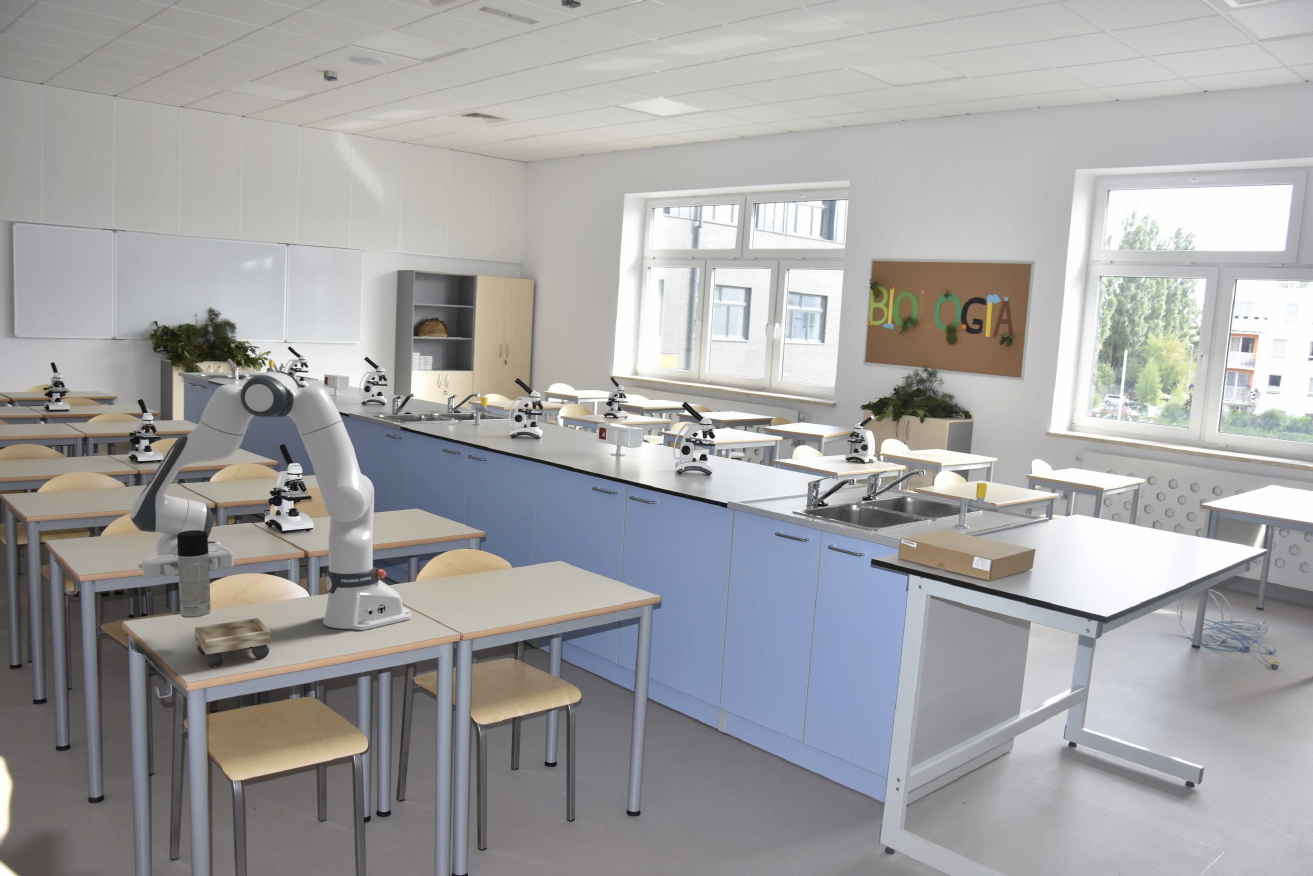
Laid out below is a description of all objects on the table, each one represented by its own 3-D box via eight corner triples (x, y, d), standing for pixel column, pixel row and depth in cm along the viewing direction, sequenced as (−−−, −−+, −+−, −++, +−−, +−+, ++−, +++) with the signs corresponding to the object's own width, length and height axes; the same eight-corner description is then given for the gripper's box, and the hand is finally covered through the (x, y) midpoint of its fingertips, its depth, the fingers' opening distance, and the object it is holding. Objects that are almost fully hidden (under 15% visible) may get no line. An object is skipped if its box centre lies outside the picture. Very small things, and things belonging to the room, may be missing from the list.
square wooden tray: (258, 643, 232) (257, 618, 231) (271, 658, 223) (270, 631, 222) (195, 654, 224) (194, 627, 223) (206, 669, 214) (205, 641, 214)
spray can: (203, 608, 233) (199, 528, 231) (216, 613, 229) (212, 532, 226) (175, 614, 228) (171, 532, 226) (188, 620, 224) (184, 537, 221)
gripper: (135, 551, 231) (144, 563, 220) (225, 540, 243) (238, 551, 232) (137, 576, 232) (146, 589, 221) (227, 564, 244) (239, 576, 233)
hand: (194, 569), depth 226 cm, fingers closed on spray can, 7 cm apart
